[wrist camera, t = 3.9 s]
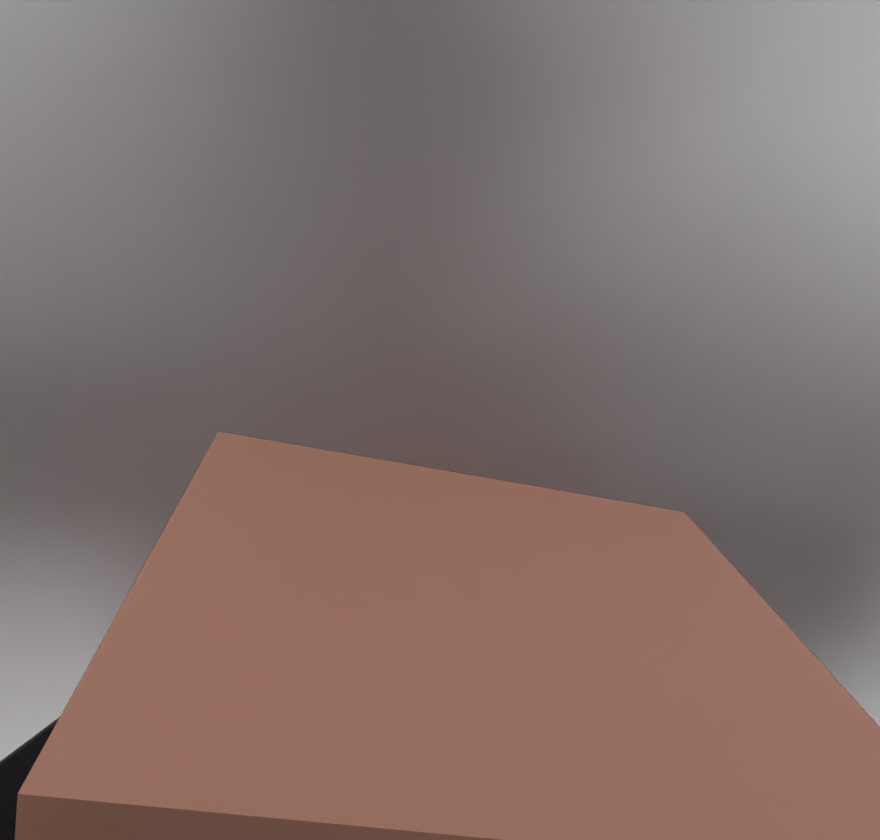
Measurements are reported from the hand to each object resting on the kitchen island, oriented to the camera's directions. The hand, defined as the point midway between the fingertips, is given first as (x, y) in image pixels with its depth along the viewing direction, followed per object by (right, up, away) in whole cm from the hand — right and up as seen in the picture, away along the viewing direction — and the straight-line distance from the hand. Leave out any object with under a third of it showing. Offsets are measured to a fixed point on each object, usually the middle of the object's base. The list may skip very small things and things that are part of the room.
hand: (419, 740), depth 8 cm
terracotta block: (0, 0, +1) cm, 1 cm away
